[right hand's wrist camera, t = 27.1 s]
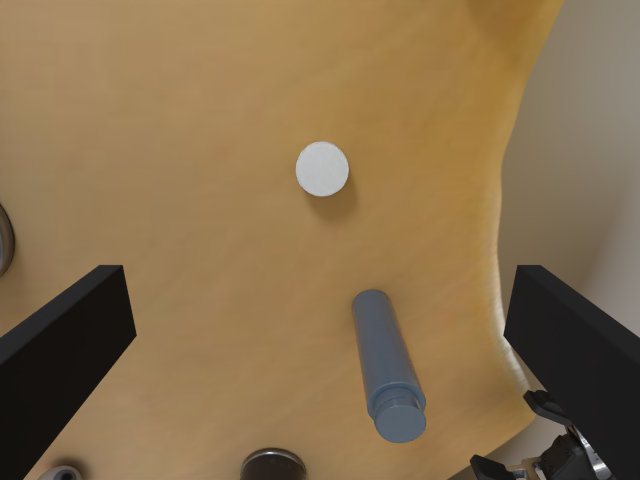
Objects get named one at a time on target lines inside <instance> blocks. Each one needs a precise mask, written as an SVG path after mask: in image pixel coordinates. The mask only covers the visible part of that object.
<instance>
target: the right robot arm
mask: <svg viewBox="0 0 640 480" xmlns="http://www.w3.org/2000/svg"><path fill="white" fill-rule="evenodd" d="M13 250H14V241H13V234H12V229H11V226H10V223H9V221H8V218H7V216H6V214H5V212H4V210H3V209H2V207H1V206H0V276H1V275H2V274H3V273H4V272H5V271H6V270H7V268H8V266H9V264H10V262H11V259H12V256H13ZM136 336H137V334H136V329H135V324H134V320H133V315H132V310H131V305H130V300H129V295H128V290H127V285H126V280H125V275H124V270H123V265H99V266H98V267H96V268H95V269H94V270H92V271H91V272H89V273H88V274H87V275H85V276H84V277H83V278H81V279H80V280H79V281H77V282H76V283H74V284H73V285H72V286H70V287H69V288H68V289H66V290H65V291H64V292H62V293H61V294H59V295H58V296H57V297H55V298H54V299H53V300H51V301H50V302H49V303H47V304H46V305H44V306H43V307H42V308H40V309H39V310H38V311H36V312H35V313H34V314H32V315H31V316H29V317H28V318H27V319H25V320H24V321H23V322H21V323H20V324H19V325H17V326H16V327H14V328H13V329H12V330H10V331H9V332H8V333H6V334H5V335H4V336H2V337H1V338H0V480H23V479H24V478H25V476H26V475H27V474H28V473H29V471H30V470H31V469H32V468H33V466H34V465H35V464H36V463H37V461H38V460H39V459H40V457H41V456H42V455H43V454H44V452H45V451H46V450H47V449H48V447H49V446H50V445H51V444H52V442H53V441H54V440H55V438H56V437H57V436H58V435H59V433H60V432H61V431H62V430H63V428H64V427H65V426H66V425H67V423H68V422H69V421H70V419H71V418H72V417H73V416H74V414H75V413H76V412H77V411H78V409H79V408H80V407H81V406H82V404H83V403H84V402H85V400H86V399H87V398H88V397H89V395H90V394H91V393H92V392H93V390H94V389H95V388H96V387H97V385H98V384H99V383H100V381H101V380H102V379H103V378H104V376H105V375H106V374H107V373H108V371H109V370H110V369H111V368H112V366H113V365H114V364H115V362H116V361H117V360H118V359H119V357H120V356H121V355H122V354H123V352H124V351H125V350H126V349H127V347H128V346H129V345H130V343H131V342H132V341H133V340H134V338H135V337H136ZM503 336H504V337H505V338H506V340H507V341H508V342H509V343H510V345H511V346H512V347H513V349H514V350H515V351H516V352H517V353H518V355H519V356H520V357H521V359H522V360H523V361H524V362H525V364H526V365H527V366H528V368H529V369H530V370H531V371H532V373H533V374H534V375H535V376H536V378H537V379H538V380H539V381H540V383H541V384H542V385H543V386H544V388H545V389H546V390H547V392H548V393H549V394H550V395H551V397H552V398H553V399H554V400H555V402H556V403H557V404H558V406H559V407H560V408H561V409H562V411H563V412H564V413H565V414H566V416H567V417H568V418H569V419H570V421H571V422H572V423H573V425H574V426H575V427H576V428H577V430H578V431H579V432H580V433H581V435H582V436H583V437H584V438H585V440H586V441H587V442H588V444H589V445H590V446H591V447H592V449H593V450H594V451H595V452H596V454H597V455H598V456H599V457H600V459H601V460H602V461H603V463H604V464H605V465H606V466H607V468H608V469H609V470H610V471H611V473H612V474H613V475H614V476H615V478H616V479H617V480H640V338H639V337H638V336H636V335H635V334H634V333H632V332H631V331H630V330H628V329H627V328H626V327H624V326H623V325H621V324H620V323H619V322H617V321H616V320H615V319H613V318H612V317H611V316H609V315H608V314H606V313H605V312H604V311H602V310H601V309H600V308H598V307H597V306H596V305H594V304H593V303H591V302H590V301H589V300H587V299H586V298H585V297H583V296H582V295H581V294H579V293H578V292H576V291H575V290H574V289H572V288H571V287H570V286H568V285H567V284H566V283H564V282H563V281H561V280H560V279H559V278H557V277H556V276H555V275H553V274H552V273H551V272H549V271H548V270H546V269H545V268H544V267H542V266H541V265H517V270H516V275H515V280H514V285H513V290H512V295H511V300H510V305H509V310H508V315H507V320H506V324H505V329H504V334H503Z"/></svg>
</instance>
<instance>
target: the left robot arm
mask: <svg viewBox="0 0 640 480" xmlns="http://www.w3.org/2000/svg"><path fill="white" fill-rule="evenodd" d="M523 398H524V399H525V401H526V402H527V404H528V405H529V406H530V408H531V409H532V410H533V411H534V412H535V413H536V414H537V415H539V416H542V417H545V418H547V419H550V420H552V421H555V422H557V423H560V424H562V425H564V426H565V429H566V431H567V434H565V435H563V436H561V435H559V436H558V437H557V438H556V439H555V440H554V442H553V444H552V446H551V447H550V448H549V449H547V450H546V451H544V452H543V453H542V455H541V456H540V457H533V458H528V459H523V460H522V464H521V465H516V466H510V467H505V466H504V465H503V464H501V463H498V462H495V461H492V460H490V459H487V458H484V457H481V456H478V455H474V456H473V457H472V458H471V459H470V463H471V466H472V468H473V470H474V473H475V475H476V477H477V479H478V480H516V479H517V478H526V479H527V480H540V478H539V477H538V475H537V473H536V472H535V471H538V470H542V471H543V473H544V475H545V478H546V480H617V479H616V478H615V476H614V475H613V474H612V473H611V471H610V470H609V469H608V468H607V466H606V465H605V464H604V463H603V461H602V460H601V459H600V457H599V456H598V455H597V454H596V452H595V451H594V450H593V449H592V447H591V446H590V445H589V444H588V442H587V441H586V440H585V438H584V437H583V436H582V435H581V433H580V432H579V431H578V430H577V428H576V427H575V426H574V425H573V423H572V422H571V421H570V419H569V418H568V417H567V416H566V414H565V413H564V412H563V411H562V409H561V408H560V407H559V406H558V404H557V403H556V402H555V400H554V399H553V398H552V397H551V395H550V394H549V393H548V392H546V391H543V390H537V391H536V392H532V391H530V390H528V391H527V392H526V393H525V394H524V396H523ZM240 480H306V470H305V467H304V464H303V463H302V461H301V460H300V459H299V458H298V457H296V456H295V455H293V454H292V453H290V452H287V451H284V450H279V449H265V450H261V451H258V452H255V453H253V454H252V455H250V456H249V457H248V458H247V459H246V460H245V461H244V463H243V465H242V469H241V474H240Z"/></svg>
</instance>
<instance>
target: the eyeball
mask: <svg viewBox="0 0 640 480" xmlns="http://www.w3.org/2000/svg"><path fill="white" fill-rule="evenodd" d="M38 480H82V477H81V475H80V473H79V472H78V471H77V469H75V468H73V467H71V466H65V465H64V466H57V467H55V468H52V469H50V470H48V471H47V472H45V473H44V474H43V475H41V476H40V477H39V479H38Z"/></svg>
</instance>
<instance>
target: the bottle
mask: <svg viewBox="0 0 640 480" xmlns="http://www.w3.org/2000/svg"><path fill="white" fill-rule="evenodd" d="M352 314H353V320H354V327H355V333H356V340H357V346H358V353H359V359H360V365H361V372H362V378H363V385H364V391H365V398H366V404H367V410H368V413H369V415H370V417H371V418H372V419H373V420H374V424H375V427H376V429H377V431H378V433H379V434H380V435H381V436H382V437H383V438H384V439H386V440H387V441H390V442H394V443H405V442H409V441H412V440H414V439H416V438H417V437H419V436H420V435H421V434H422V433H423V432H424V430H425V426H426V418H425V415H424V410H425V406H426V400H425V396H424V393H423V390H422V388H421V385H420V382H419V379H418V376H417V374H416V371H415V368H414V365H413V362H412V360H411V357H410V354H409V351H408V348H407V346H406V343H405V340H404V337H403V334H402V332H401V329H400V326H399V323H398V320H397V318H396V315H395V312H394V309H393V306H392V304H391V301H390V299H389V297H388V296H387V295H386V294H385V293H383V292H381V291H378V290H367V291H364V292H362V293H360V294H359V295H358V296H357V297H356V298H355V299H354V301H353V304H352Z"/></svg>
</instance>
